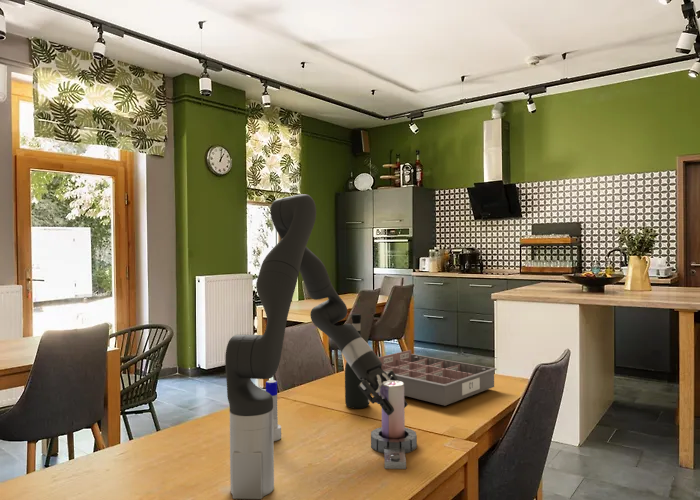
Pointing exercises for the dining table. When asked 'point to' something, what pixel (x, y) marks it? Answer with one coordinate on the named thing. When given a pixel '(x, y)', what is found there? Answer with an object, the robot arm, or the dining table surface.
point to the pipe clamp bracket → (394, 447)
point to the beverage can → (396, 421)
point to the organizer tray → (437, 377)
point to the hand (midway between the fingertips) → (398, 409)
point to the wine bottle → (354, 378)
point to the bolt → (274, 408)
